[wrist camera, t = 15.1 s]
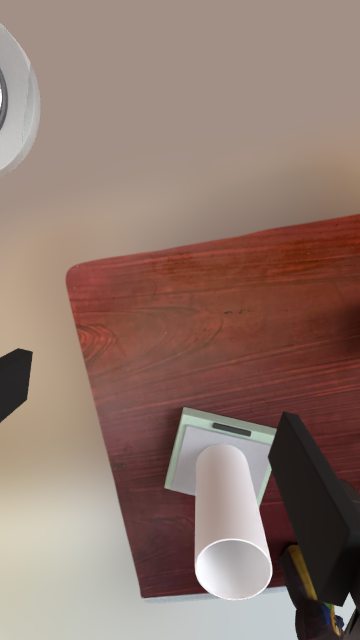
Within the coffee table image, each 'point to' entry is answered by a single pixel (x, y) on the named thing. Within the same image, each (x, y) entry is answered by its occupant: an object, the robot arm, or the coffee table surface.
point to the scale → (215, 429)
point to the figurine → (308, 601)
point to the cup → (228, 527)
